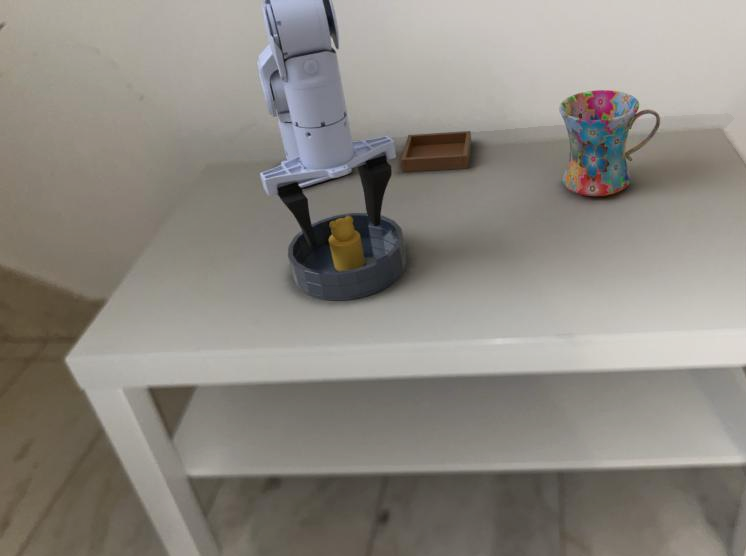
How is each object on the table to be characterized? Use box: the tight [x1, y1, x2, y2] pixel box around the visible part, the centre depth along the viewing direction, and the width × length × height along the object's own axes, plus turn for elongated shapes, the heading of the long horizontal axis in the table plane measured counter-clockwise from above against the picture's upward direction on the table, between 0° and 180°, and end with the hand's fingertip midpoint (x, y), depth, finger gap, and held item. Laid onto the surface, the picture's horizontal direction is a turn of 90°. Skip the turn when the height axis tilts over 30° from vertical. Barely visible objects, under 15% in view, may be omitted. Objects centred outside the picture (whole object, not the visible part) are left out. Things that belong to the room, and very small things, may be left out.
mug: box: [558, 89, 661, 197], centre depth 95 cm, size 12×9×11 cm
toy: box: [329, 216, 365, 271], centre depth 87 cm, size 4×4×6 cm
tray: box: [400, 130, 472, 173], centre depth 109 cm, size 9×8×2 cm
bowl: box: [287, 212, 407, 302], centre depth 88 cm, size 13×13×4 cm
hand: (343, 232), depth 87 cm, fingers open, 7 cm apart
